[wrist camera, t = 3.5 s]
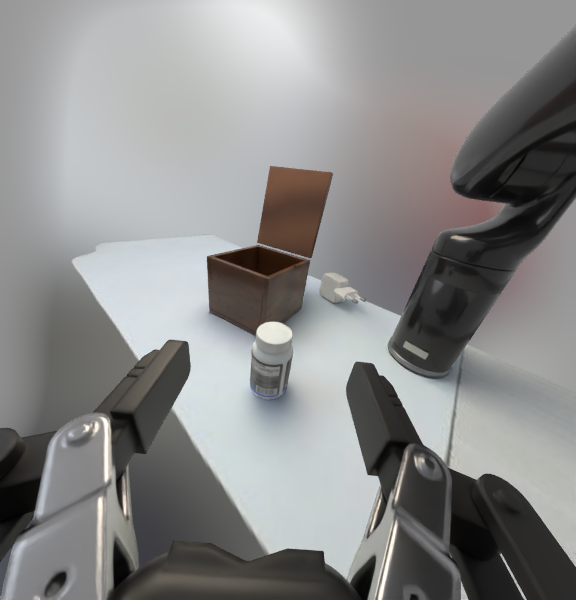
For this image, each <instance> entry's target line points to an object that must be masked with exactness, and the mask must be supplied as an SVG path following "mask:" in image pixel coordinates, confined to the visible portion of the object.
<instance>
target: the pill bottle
mask: <svg viewBox="0 0 576 600" xmlns="http://www.w3.org/2000/svg"><path fill="white" fill-rule="evenodd" d="M292 336H293V335H292V331H291V329H290V328H289V327H288V326H286V325H285V324H282V323H279V322H267V323H264V324H262V325H260V326H259V327H258V329H257V332H256V341H255V342H254V344H253V346H252V359H251V374H250V375H251V376H250V387H251V389H252V391H253V392H254V394H255V395H257V396H258V397H260V398H263V399H268V400H270V399H275V398H278V397H279V396H281V395H282V394H283V393H284V392H285V390H286V388H287V384H288V378H289V372H290V367H291V361H292V356H293V347H292V345H291V343H292Z"/></svg>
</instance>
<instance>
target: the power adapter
mask: <svg viewBox="0 0 576 600" xmlns="http://www.w3.org/2000/svg"><path fill="white" fill-rule="evenodd" d="M319 292H320V295H322V296H323V297H325V298H326V299H328V300H329V301H331V302H332V303H339V302H342V301H344V300H348V299H349V300H351V301H352V302H354V303H356V304H357V303H358V301H357V300H356V299H354V298H355V297H357V298H359V299H360V300H362V301H364V302H365V301H366V299H365V298H363V297H361V296H359V295H358V291H357V290H355V289H353V288H351V287H349V280H348V279H346V278H345V277H342V276H341V275H339V274H337V273H334V272H333V273H325V274H324V275H323V277H322V281H321V285H320V291H319Z"/></svg>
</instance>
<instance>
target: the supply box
mask: <svg viewBox="0 0 576 600" xmlns="http://www.w3.org/2000/svg"><path fill="white" fill-rule="evenodd" d="M309 264H310V260H307V259H304V258H300V257H297V256H294V255H290V254H287V253H284V252H280V251H277V250H273V249H270V248H267V247H263V246H260V245H256V246H251V247H247V248H242V249H238V250H233V251H229V252H224V253H220V254H215V255H211V256H207V269H208V289H209V308H210V309H209V310H210V312H211V313H213V314H215V315H217V316H219V317H221V318H223V319H224V320H226V321H228V322H230V323H232V324H234V325H236V326H238V327H240V328H242V329H244V330H246V331H248V332H250V333H251V334H253V335H255V336H256V332H257V329H258V327H259V326H260V325H262V324H264V323H267V322H279V323H282V324H283V323H284V322H285V321H287V320H288V319H289V318H290V317H291V316H293V315H294V314H295V313H296V312H298V311H299V310H300V309H301V307H302V302H303V296H304V291H305V286H306V280H307V275H308V269H309Z"/></svg>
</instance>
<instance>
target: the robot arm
mask: <svg viewBox="0 0 576 600" xmlns="http://www.w3.org/2000/svg"><path fill="white" fill-rule="evenodd" d="M450 183H451V186H452V188H453V190H454V191H455V192H456V193H457V194H459V195H462V196H464V197H466V198H470V199H475V200H483V201H490V202H497V203H505V206H504V207H503V208H502V210H501V211H500V212H499V213H498V214H497V216H495V217H494V218H492V219H490V220H488V221H485V222H483V223H480V224H476V225H472V226H468V227H461V228H453V229H448V230H444V231H443V232H441V233H440V234H439V235H438V237H437V238H436V240H435V243H434V245H433V247H432V250H431V252H430V254H429V256H428V258H427V260H426V263H425V265H424V267H423V269H422V272H421V274H420V276H419V278H418V281H417V283H416V285H415V287H414V289H413V292H412V294H411V296H410V298H409V301H408V303H407V305H406V307H405V309H404V311H403V314H402V316H401V318H400V320H399V323H398V325H397V327H396V329H395V331H394V334H393V336H392V337H391V339H390V341H389V343H388V349H389V352H390V353H391V355H392V356H393V357H394V358H395V359H396V360H397V361H398V362H399V363H400V364H402V365H403V366H405V367H406V368H408V369H409V370H411V371H413V372H415V373H418V374H420V375H423V376H427V377H432V378H441V377H445V376H446V375H447V374H448V373H449V372H450V370H451V368H452V366H453V364H454V363H455V361H456V360H457V358H458V357H459V355H460V354H461V352H462V351H463V349H464V348H465V346H466V345H467V343H468V342H469V340H470V339H471V337H472V336H473V334H474V333H475V331H476V330H477V328H478V327H479V326H480V324H481V323H482V321H483V320H484V318H485V317H486V315H487V314H488V312H489V311H490V309H491V307H492V306H493V305H494V303H495V302H496V300H497V299H498V297H499V296H500V294H501V292H502V291H503V290H504V288H505V287H506V285H507V284H508V282H509V281H510V279H511V278H512V276H513V275H514V273H515V272H516V270H517V269H518V267H519V266H520V264H521V263H522V262H523V260H524V259H525V258H526V257H527V256H528V255H529V254H531V253H532V252H533V251H534V250H535V249H536V248H537V247H538V246H539V245H540V244H541V243H542V242H543V241H544V240H545V239H546V237H547V236H548V235H549V233H550V232H551V231H552V229H553V228H554V227H555V225H556V224H557V222H558V221H559V220H560V219H561V217H562V216H563V215H564V213H565V212H566V211H567V209H568V208H569V207H570V206H571V204H572V203H573V202H574V200H575V199H576V25H575V26H574V27H573V28H572V29H571V30H570V31H569V32H568V33H567V34H566V35H565V36H564V37H563V38H562V39H561V40H560V41H559V42H558V43H557V44H556V45H555V46H554V47H553V48H552V49H551V50H550V51H549V52H548V53H547V54H546V55H545V56H544V57H543V58H542V59H541V60H540V61H539V62H538V63H537V64H535V65H534V66H533V67H532V68H531V69H530V70H529V71H528V72H527V73H526V74H525V75H524V76H523V77H522V78H521V79H520V80H519V81H518V82H517V83H516V84H514V85H513V86H512V87H511V88H510V89H509V90H508V91H507V92H506V93H505V94H504V95H503V96H502V97H501V98H500V99H499V100H498V101H497V102H496V103H495V104H494V105H493V106H492V107H491V108H490V109H489V110H488V111H487V113H486V114H485V115H484V116H483V117H482V118H481V119H480V121H479V122H478V123H477V124H476V126H475V127H474V128H473V129H472V131H471V132H470V134H469V135H468V137H467V138H466V139H465V141H464V143H463V144H462V146H461V148H460V149H459V151H458V153H457V155H456V157H455V159H454V162H453V165H452V168H451V173H450ZM190 367H191V365H190V355H189V346H188V342H186V341H178V340H168V341H167V342H166V343H165V345H164V346H163V347H162V348H161V349H160V350H153V351H152V352H150V353H148V354H147V355H145V356H144V357H142V358H141V360H140V361H139V362H138V363H137V364H136V365H135V366H134V369H132V370H131V371H130V372H129V373H128V374H127V376H126V377H124V379H123V380H122V381H121V382H120V383H119V384H118V385H117V386H116V388H115V389H114V390H113V391H112V392H111V393H110V394H109V395H108V396H107V398H106V399H105V400H104V401H103V402H102V403H101V404H100V405H99V406H98V408H97V409H96V410H95V411H94V412H93V413H89V414H86V415H83V416H80V417H78V418H76V419H74V420H72V421H70V422H69V423H67V424H66V425H64V426H63V427H62V428H61V429H60V430H58V431H54V432H48V433H43V434H38V435H33V436H28V437H23V438H21V437H20V436H19V435H18V433H17V432H16V431H15V430H13V429H11V428H0V562H1V560H2V559H3V557H4V556H5V555H6V553H7V552H8V550H9V549H10V548H11V547H12V545H13V544H14V546H13V549H12V552H11V556H10V560H9V564H8V568H7V572H6V577H5V581H4V585H3V589H2V593H1V597H0V600H461V582H462V584H463V587H464V589H465V592H466V594H467V597H468V599H469V600H524V599H523V597H522V595H521V593H520V591H519V590H518V588H517V586H516V584H515V582H514V580H513V578H512V577H511V575H510V573H509V571H508V569H507V567H506V565H505V563H504V562H503V560H502V558H501V556H500V554H501V553H502V555H503V557H504V558H505V560H506V562H507V564H508V566H509V568H510V569H511V571H512V573H513V575H514V577H515V579H516V581H517V582H518V584H519V586H520V588H521V590H522V592H523V593H524V595H525V597H526V599H527V600H576V567H575V566H574V564H573V563H572V561H571V560H570V559H569V557H568V556H567V554H566V553H565V552H564V550H563V549H562V548H561V546H560V545H559V543H558V542H557V541H556V539H555V538H554V536H553V535H552V534H551V532H550V531H549V529H548V528H547V527H546V525H545V524H544V523H543V521H542V520H541V518H540V517H539V516H538V514H537V513H536V511H535V510H534V509H533V507H532V506H531V505H530V503H529V502H528V501H527V499H526V498H525V497H524V496H523V495H522V494H521V493H520V492H519V491H518V490H517V489H516V488H514V487H513V486H512V485H511V484H509V483H508V482H507V481H505V480H503V479H502V478H500V477H498V476H495V475H492V474H484V475H482V476H481V477H480V478H479V479H477V480H475V479H473V478H470V477H468V476H466V475H463V474H461V473H459V472H456V471H454V470H452V469H450V468H448V467H447V466H446V465H445V463H444V462H443V461H442V459H441V458H440V457H439V456H438V455H437V454H436V453H435V452H433V451H432V450H431V449H429V448H427V447H425V446H424V445H423V444H422V442H421V440H420V438H419V436H418V434H417V432H416V430H415V428H414V426H413V424H412V422H411V421H410V419H409V417H408V415H407V413H406V411H405V409H404V407H402V403H401V401H400V399H399V398H398V395H397V393H396V392H395V390H394V388H393V386H392V385H391V383H390V382H389V381H388V380H387V379H386V378H385V377H384V376H379V374H378V372H377V370H376V368H375V366H374V365H373V364H372V363H364V362H356V363H355V364H354V366H353V369H352V372H351V374H350V377H349V380H348V382H347V387H346V394H347V399H348V403H349V406H350V410H351V414H352V418H353V421H354V425H355V429H356V433H357V436H358V440H359V444H360V448H361V451H362V455H363V459H364V462H365V466H366V470H367V474H368V475H373V476H378V477H379V480H380V484H381V485H380V486H379V489H378V492H377V495H376V498H375V501H374V505H373V508H372V511H371V514H370V517H369V520H368V524H367V527H366V530H365V533H364V536H363V539H362V542H361V544H360V547H359V549H358V551H357V553H356V555H355V557H354V560H353V562H352V565H351V568H350V571H349V574H348V577H347V580H346V579H345V578H344V577H343V576H342V575H341V574H340V573H339V572H338V571H336V570H335V569H333V568H332V567H331V566H329V565H327V564H325V561H324V551H313V550H299V549H285V550H282V551H279V552H276V553H273V554H270V555H267V556H264V557H261V558H258V559H255V560H252V561H245V560H242V559H241V558H239V557H237V556H235V555H233V554H231V553H229V552H227V551H225V550H223V549H221V548H219V547H217V546H215V545H213V544H211V543H200V542H187V541H173V542H172V545H171V548H170V551H169V552H168V553H165V554H163V555H160V556H158V557H156V558H154V559H152V560H150V561H149V562H147V563H146V564H144V565H142V566H141V567H140V568H139V556H138V548H137V541H136V536H135V532H134V527H133V520H132V506H131V493H130V480H129V467H128V463H129V461H130V460H131V458H132V456H133V455H134V453H141V454H146V453H147V451H148V449H149V447H150V445H151V444H152V442H153V440H154V438H155V436H156V434H157V433H158V431H159V429H160V427H161V426H162V424H163V422H164V420H165V418H166V416H167V415H168V413H169V411H170V409H171V408H172V406H173V404H174V402H175V400H176V399H177V397H178V395H179V393H180V391H181V390H182V388H183V386H184V384H185V382H186V381H187V379H188V376H189V373H190ZM32 518H33V521H32V523H31V525H30V527H29V528H27V529H25V528H26V527H27V525H28V524H29V522H30V521H31V520H32ZM24 529H25V530H24ZM450 554H451V556H450ZM451 557H452V558H451Z"/></svg>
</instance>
